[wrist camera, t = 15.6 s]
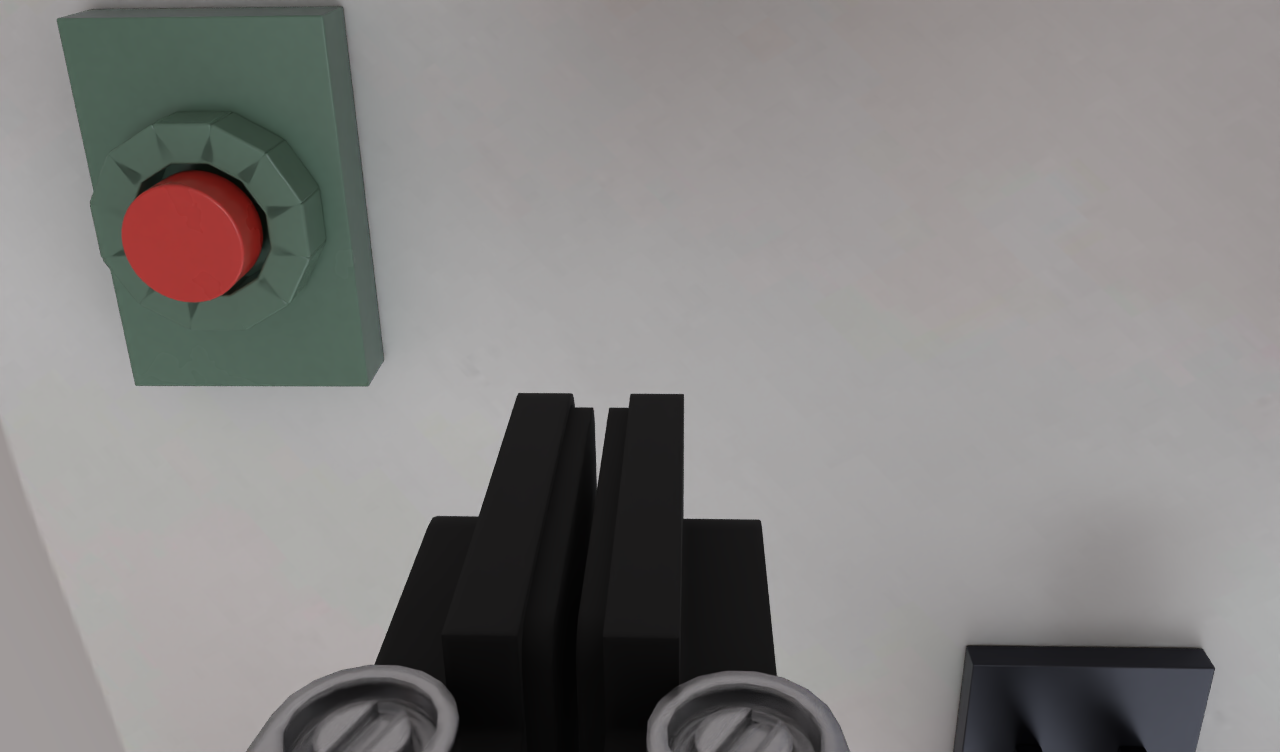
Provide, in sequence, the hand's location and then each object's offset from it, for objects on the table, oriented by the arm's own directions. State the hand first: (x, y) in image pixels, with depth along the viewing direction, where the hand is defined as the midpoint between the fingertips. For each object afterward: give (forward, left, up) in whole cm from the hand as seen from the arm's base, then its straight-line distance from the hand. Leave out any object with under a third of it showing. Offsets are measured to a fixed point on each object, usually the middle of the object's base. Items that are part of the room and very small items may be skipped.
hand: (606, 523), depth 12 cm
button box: (+4, -14, -27) cm, 31 cm away
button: (+4, -14, -23) cm, 27 cm away
